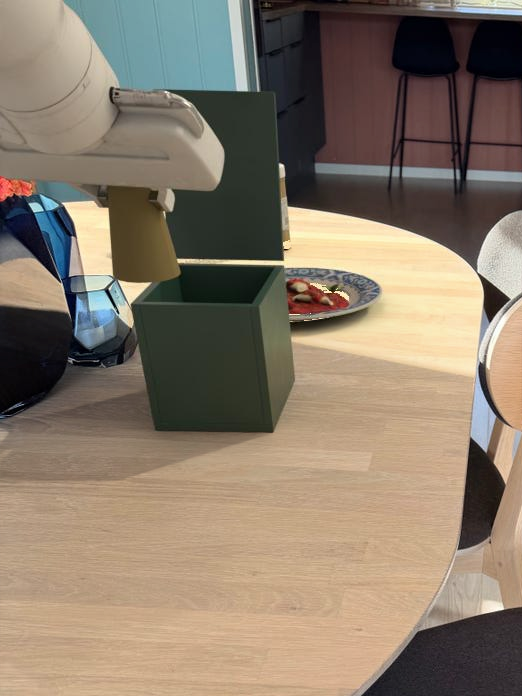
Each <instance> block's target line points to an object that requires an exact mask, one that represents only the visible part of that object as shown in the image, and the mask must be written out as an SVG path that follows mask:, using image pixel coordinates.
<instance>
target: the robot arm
mask: <svg viewBox="0 0 522 696" xmlns="http://www.w3.org/2000/svg"><path fill="white" fill-rule="evenodd" d="M223 166H224V149H223V147H222V145H221V143H220V142H219V140H218V138H217V137H216V135H215V134H214V132H213V131H212V129H211V128H210V127H209V125H208V124H207V122H206V121H205V120H204V118H203V117H202V116H201V115H200V113H199V112H198V111H197V109H196V108H195V106H194V105H193V104H192V103H190V102H188V101H187V100H186V99H184V98H182V97H180V96H178V95H176V94H172V93H170V92H168V91H164V90H154V89H152V90H143V89H138V88H131V87H130V88H129V87H128V88H127V87H121V86H120V83H119V79H118V77H117V75H116V73H115V72H114V70H113V68H112V67H111V65H110V63H109V62H108V60H107V59H106V57H105V56H104V54H103V53H102V51H101V49H100V48H99V46H98V44H97V43H96V41H95V39H94V38H93V36H92V34H91V33H90V32H89V30H88V28H87V26H86V25H85V24H84V22H83V21H82V19H81V18H80V17H79V15H78V14H77V13H76V12H75V11H74V10H73V9H72V8H70V6H68V5H67V4H66V3H65V2H64V0H0V177H1V178H4V179H6V180H8V181H10V180H11V181H27V182H28V181H29V182H45V183H46V182H47V183H59V184H60V183H62V184H67V186H68V187H70V188H72V189H74V190H76V191H78V192H79V193H81V194H83V195H84V196H86V197H88V198H90V199H91V200H92V201H93V202H94V204H95V205H96V206H97V207H98V208H100V209H108V196H107V185H112V186H129V187H146V188H151V191H152V192H151V193H150V195H149V200H148V201H149V202H150V203H151V204H152V205H153V206H154V207H155V208H156V209H157V210H158V211H163V212H164V213H165V212H172V211H173V207H174V202H175V196H174V193H173V192H172V190H171V189H181V190H198V191H213V190H214V189H215V188H216V187H217V185H218V184H219V182H220V180H221V176H222V171H223Z"/></svg>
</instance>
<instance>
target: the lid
mask: <svg viewBox="0 0 522 696" xmlns="http://www.w3.org/2000/svg"><path fill="white" fill-rule="evenodd" d="M153 90H164V91H168V92H170V93H172V94H176V95H178V96H180V97H182V98H184V99H186V100H187V101H188V102H190V103H192V104H193V105H194V106H195V108H196V109H197V111H198V112H199V113H200V115H201V116H202V117H203V118H204V120H205V121H206V122H207V124H208V125H209V127H210V128H211V129H212V131H213V132H214V134H215V135H216V137H217V138H218V140H219V142H220V143H221V145H222V147H223V149H224V166H223V171H222V176H221V180H220V182H219V184H218V185H217V187H216V188H215V189H214V190H213V191H198V190H181V189H171V190H172V192H173V193H174V196H175V202H174V207H173V211H172V212H164V216H165V219H166V223H167V226H168V230H169V233H170V237H171V240H172V244H173V247H174V250H175V254H176V257H177V260H206V261H207V260H208V261H210V260H214V261H257V262H258V261H259V262H261V261H262V262H263V261H264V262H285V250H284V246H283V227H282V208H281V189H280V171H279V163H280V154H279V139H278V138H279V135H278V118H277V99H276V98H277V96H276V93H275V92H274V91H257V90H256V91H254V90H253V91H251V90H250V91H249V90H248V91H247V90H212V89H211V90H208V89H174V88H173V89H170V88H169V89H168V88H153Z"/></svg>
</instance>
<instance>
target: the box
mask: <svg viewBox="0 0 522 696" xmlns="http://www.w3.org/2000/svg"><path fill="white" fill-rule="evenodd" d="M178 264H179V268H180V271H181V273H180V275H179V276H177V277H175V278H172V279H170V280H165V281H160V282H151V283H149V285H148V286H146V288H144V290H142V292H141V293H140V294H139V295H138V296H137V297H136V298H135V299H134V300H132V302H130V304H129V305H130V310H131V314H132V320H133V325H134V330H135V336H136V340H137V345H138V350H139V355H140V362H141V366H142V371H143V377H144V382H145V387H146V391H147V392H146V393H147V397H148V402H149V407H150V412H151V417H152V423H153V427H154V431H172V432H173V431H175V432H176V431H177V432H178V431H179V432H180V431H182V432H183V431H184V432H237V433H238V432H242V433H243V432H244V433H246V432H248V433H249V432H250V433H274V432H275V429H276V427H277V424H278V422H279V420H280V418H281V415H282V412H283V410H284V408H285V405H286V403H287V400H288V398H289V396H290V393H291V391H292V389H293V386H294V383H295V381H296V373H295V362H294V353H293V342H292V333H291V332H292V331H291V323H290V321H289V310H288V300H287V290H286V280H285V269H284V268H285V265H283V264H243V263H242V264H241V263H239V264H236V263H195V262H194V263H192V262H191V263H190V262H189V263H188V262H178Z"/></svg>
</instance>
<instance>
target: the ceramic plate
mask: <svg viewBox="0 0 522 696" xmlns="http://www.w3.org/2000/svg"><path fill="white" fill-rule="evenodd" d="M284 269H285V280H286V290H287V300H288V310H289V314H300V315H289V321H304V320H312V319H319V318H327V317H332V318H334V317H333V316H335V317H338V316H342V315H347V314H351V313H356V312H357V311H358V312H359V311H361V310H363V309H366V308H368V307H370V306H372V305H374V304H375V303H377V302H378V301H379V300H380V299H381V298H382V295H383V288H382V286H381V285H380V284H379V283H378V282H377V281H375V280H374V279H372V278H370V277H368V276H365V275H363V274H359V273H356V272H352V271H346V270H342V269H341V270H340V269H333V268H321V267H284ZM310 283H316V284H317V283H318V284H321V285H326V286H322V287H326V288H327V289H328V290H329V291H331V292H332V293H324V291H327V290H323V291H322V290H321V289H318V288H317V287H315V286H313V285H310ZM337 288H338V289H337ZM336 289H337V290H336ZM335 291H340V292H342V291H343V292H344V293H346V294H347V295H348V296H349V301H348V300H346V299H345V298H344V297H342V296H340V294H338V293H334V292H335ZM310 313H311V314H310Z"/></svg>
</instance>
